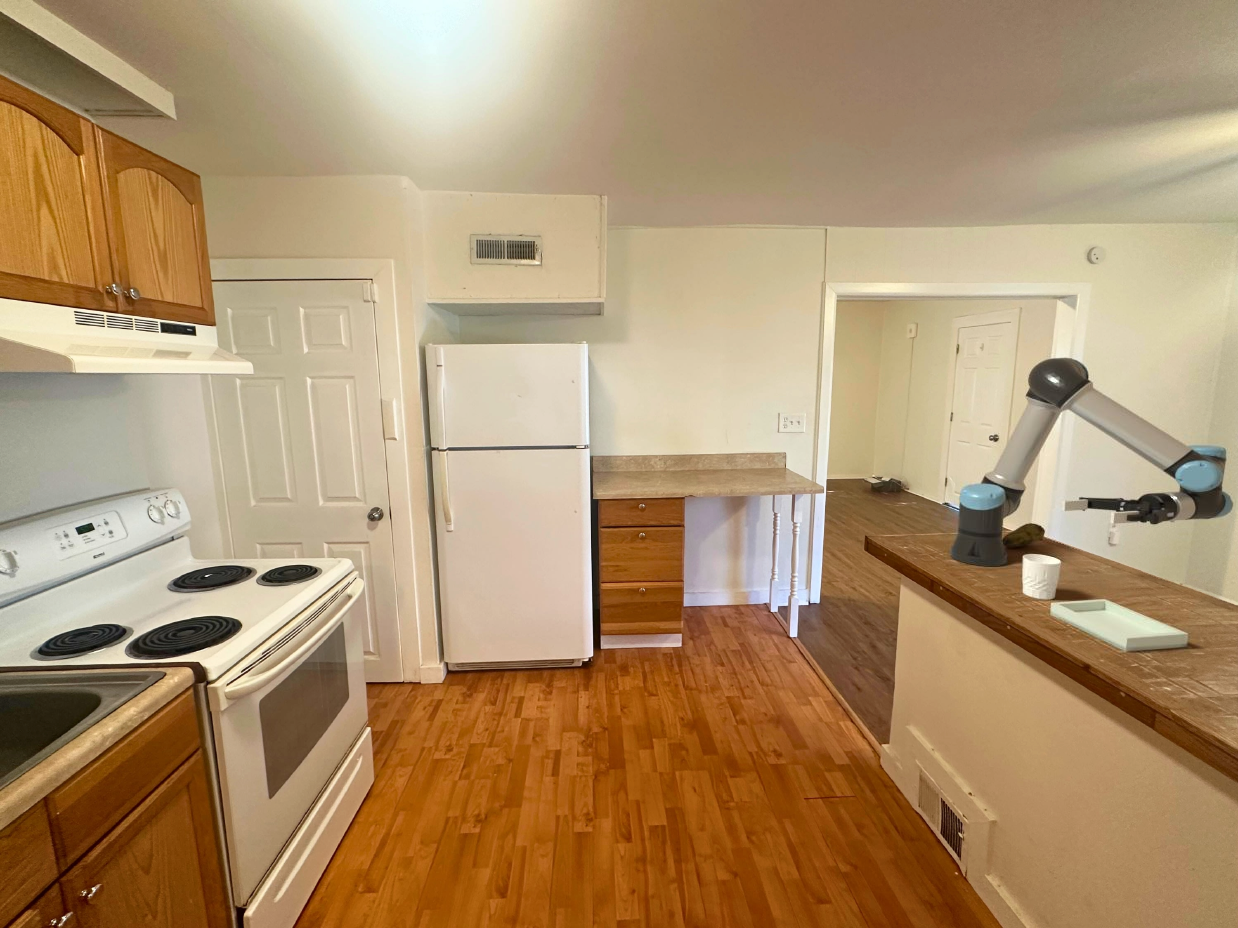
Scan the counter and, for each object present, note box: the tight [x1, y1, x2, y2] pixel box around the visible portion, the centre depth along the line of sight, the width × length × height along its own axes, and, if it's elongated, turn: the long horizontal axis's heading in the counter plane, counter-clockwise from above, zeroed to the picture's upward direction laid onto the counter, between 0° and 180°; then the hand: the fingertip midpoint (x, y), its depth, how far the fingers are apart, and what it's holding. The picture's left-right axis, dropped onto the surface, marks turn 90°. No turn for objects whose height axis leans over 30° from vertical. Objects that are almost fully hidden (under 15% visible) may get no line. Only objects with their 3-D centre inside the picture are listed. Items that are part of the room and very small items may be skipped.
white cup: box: [1021, 553, 1062, 601], centre depth 139 cm, size 8×8×10 cm
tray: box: [1049, 598, 1189, 653], centre depth 120 cm, size 18×14×3 cm
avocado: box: [1002, 522, 1046, 549], centre depth 176 cm, size 8×13×8 cm, turn 77°
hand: (1086, 511), depth 137 cm, fingers open, 13 cm apart
